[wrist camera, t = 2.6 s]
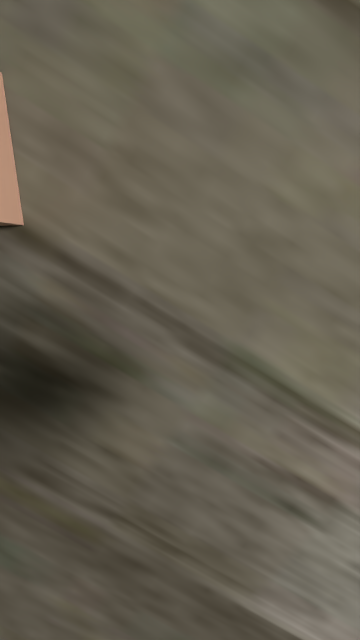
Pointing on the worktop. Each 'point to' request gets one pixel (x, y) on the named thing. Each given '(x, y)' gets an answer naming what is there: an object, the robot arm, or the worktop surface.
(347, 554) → the worktop surface
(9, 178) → the pink rectangular prism
